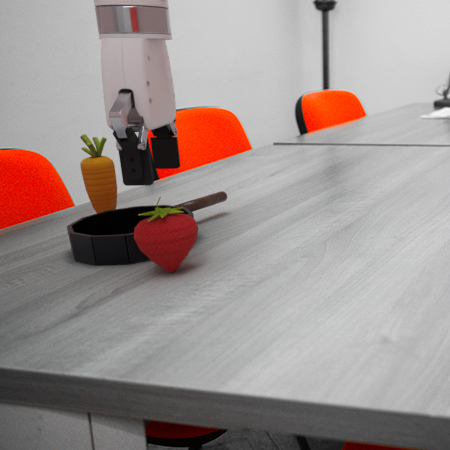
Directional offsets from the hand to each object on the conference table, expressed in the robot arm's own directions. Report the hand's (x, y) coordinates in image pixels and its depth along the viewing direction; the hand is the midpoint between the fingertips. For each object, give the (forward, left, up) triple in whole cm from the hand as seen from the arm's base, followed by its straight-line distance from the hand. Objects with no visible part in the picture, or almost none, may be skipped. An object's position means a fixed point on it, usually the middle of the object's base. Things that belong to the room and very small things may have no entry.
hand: (154, 176), depth 69 cm
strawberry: (+1, 0, -13) cm, 13 cm away
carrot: (-17, +24, -13) cm, 32 cm away
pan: (-6, +17, -12) cm, 22 cm away
